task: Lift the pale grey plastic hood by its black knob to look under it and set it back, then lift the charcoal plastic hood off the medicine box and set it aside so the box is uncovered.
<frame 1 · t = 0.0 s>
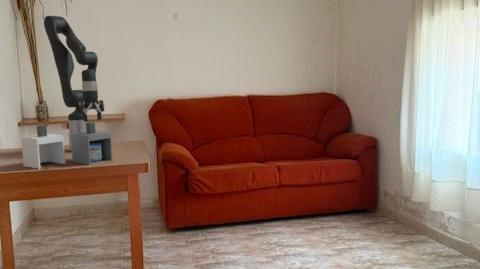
hand: (92, 120, 246), 17 cm above the table, tool pointing down, fingers open, 8 cm apart
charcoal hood: (92, 160, 226), on the table
medicine box: (92, 161, 226), on the table
grey hood: (44, 164, 218), on the table
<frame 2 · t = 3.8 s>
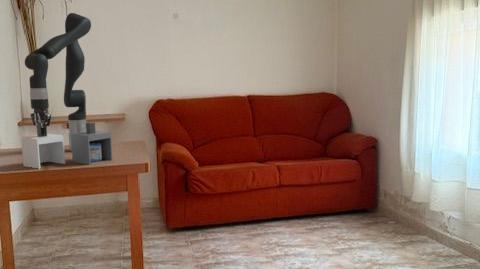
hand: (42, 135, 216), 14 cm above the table, tool pointing down, fingers closed on grey hood, 3 cm apart
grey hood: (44, 164, 218), on the table, touching gripper
everything else where it was.
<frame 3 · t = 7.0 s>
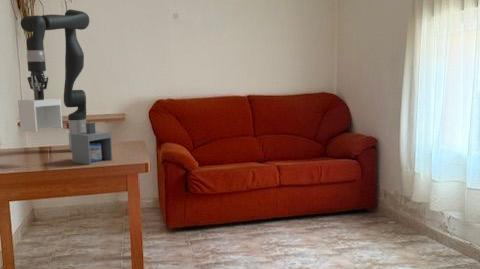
hand: (39, 98, 214), 31 cm above the table, tool pointing down, fingers closed on grey hood, 3 cm apart
grey hood: (41, 129, 216), point 17 cm above the table, touching gripper
everything else where it was.
when the fingers open (15 cm above the table, at t = 10.4 s): grey hood stays where it is, on the table.
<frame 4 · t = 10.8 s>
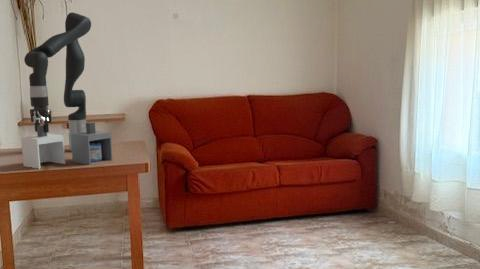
hand: (41, 131, 216), 16 cm above the table, tool pointing down, fingers open, 6 cm apart
grey hood: (44, 164, 218), on the table
everything else where it was.
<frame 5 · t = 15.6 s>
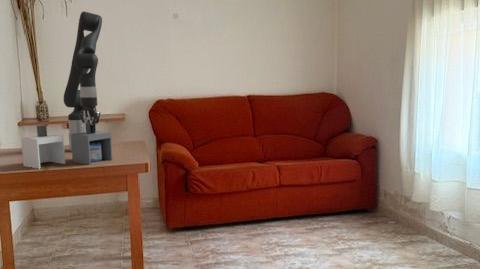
hand: (90, 132, 224), 14 cm above the table, tool pointing down, fingers closed on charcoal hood, 3 cm apart
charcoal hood: (92, 160, 226), on the table, touching gripper
everything else where it was.
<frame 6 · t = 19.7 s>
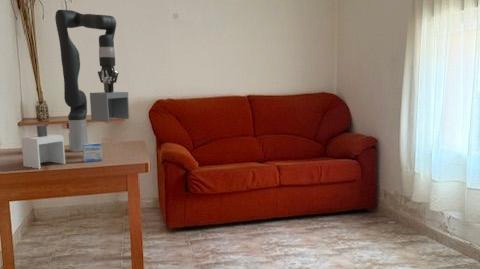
hand: (109, 91, 233), 33 cm above the table, tool pointing down, fingers closed on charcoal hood, 3 cm apart
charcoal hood: (110, 119, 235), point 19 cm above the table, touching gripper
everything else where it was.
when the fingers open (15 cm above the table, at t = 23.7 s): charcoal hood stays where it is, on the table.
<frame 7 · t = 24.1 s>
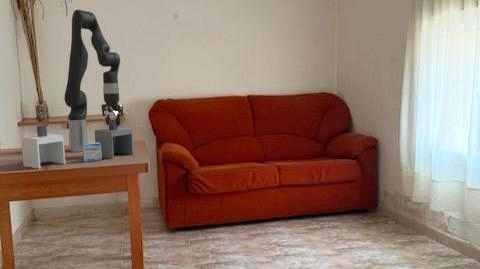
hand: (113, 125, 237), 16 cm above the table, tool pointing down, fingers open, 7 cm apart
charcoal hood: (114, 155, 239), on the table
everything else where it was.
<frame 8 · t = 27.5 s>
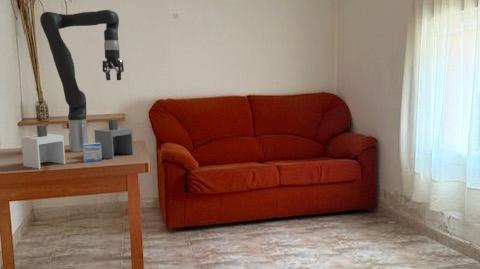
hand: (113, 80, 247), 38 cm above the table, tool pointing down, fingers open, 8 cm apart
nothing on the table moved.
at the end: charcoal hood moved 15.2 cm from its start; medicine box moved 0.3 cm from its start; grey hood 0.1 cm from the target spot, on the table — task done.
